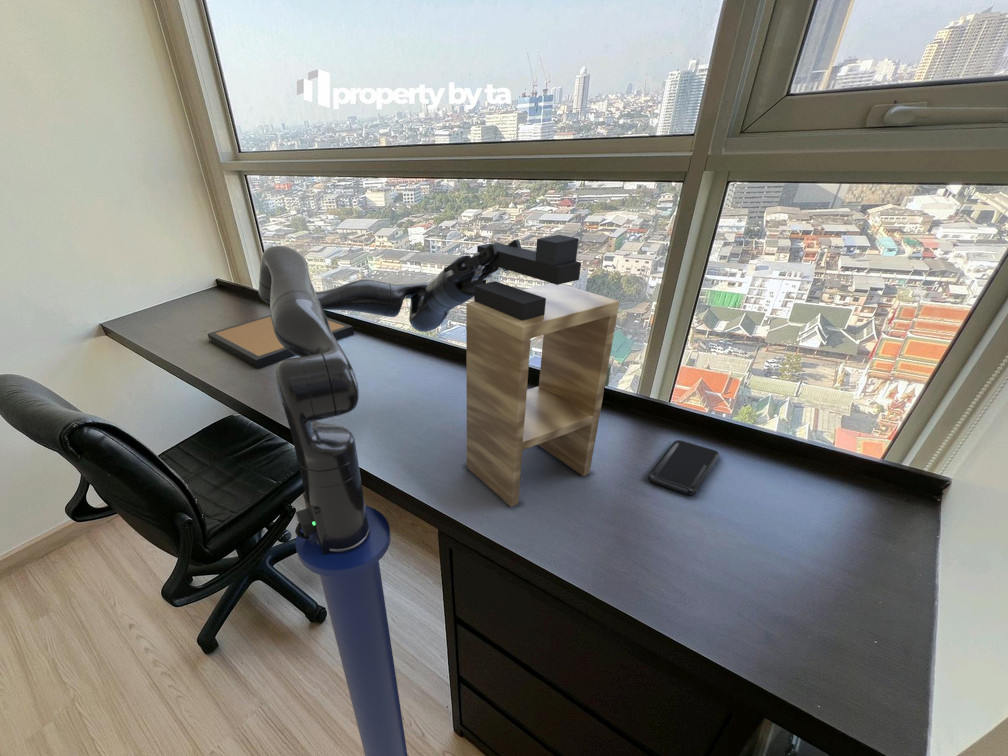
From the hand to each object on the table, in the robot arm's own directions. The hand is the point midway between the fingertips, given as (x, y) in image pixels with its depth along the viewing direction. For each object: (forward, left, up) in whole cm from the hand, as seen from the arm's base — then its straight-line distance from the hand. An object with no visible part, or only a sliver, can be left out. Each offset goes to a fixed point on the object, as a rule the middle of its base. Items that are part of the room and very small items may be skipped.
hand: (506, 247), depth 77 cm
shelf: (0, -9, -38) cm, 40 cm away
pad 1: (0, -4, -3) cm, 5 cm away
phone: (+24, -24, -38) cm, 51 cm away
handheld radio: (+24, +6, -39) cm, 46 cm away
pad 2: (-6, -8, -6) cm, 12 cm away
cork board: (-21, +94, -39) cm, 104 cm away
